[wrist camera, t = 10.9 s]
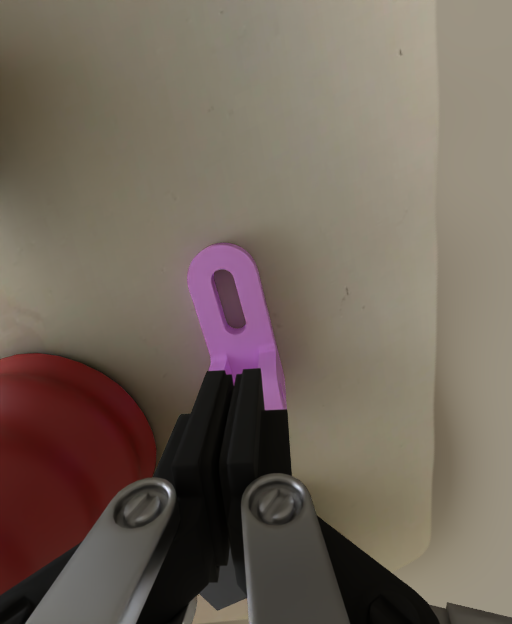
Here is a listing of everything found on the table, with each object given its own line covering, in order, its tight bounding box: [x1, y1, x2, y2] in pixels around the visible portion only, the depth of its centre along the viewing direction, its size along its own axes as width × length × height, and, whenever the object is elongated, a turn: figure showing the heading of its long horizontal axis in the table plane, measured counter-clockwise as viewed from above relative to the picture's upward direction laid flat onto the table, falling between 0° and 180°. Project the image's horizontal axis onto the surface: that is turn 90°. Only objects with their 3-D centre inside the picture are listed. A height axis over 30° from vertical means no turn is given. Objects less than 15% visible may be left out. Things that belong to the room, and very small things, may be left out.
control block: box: [199, 548, 247, 611], centre depth 35 cm, size 15×9×4 cm, turn 126°
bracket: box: [187, 243, 287, 410], centre depth 26 cm, size 13×6×7 cm, turn 14°
